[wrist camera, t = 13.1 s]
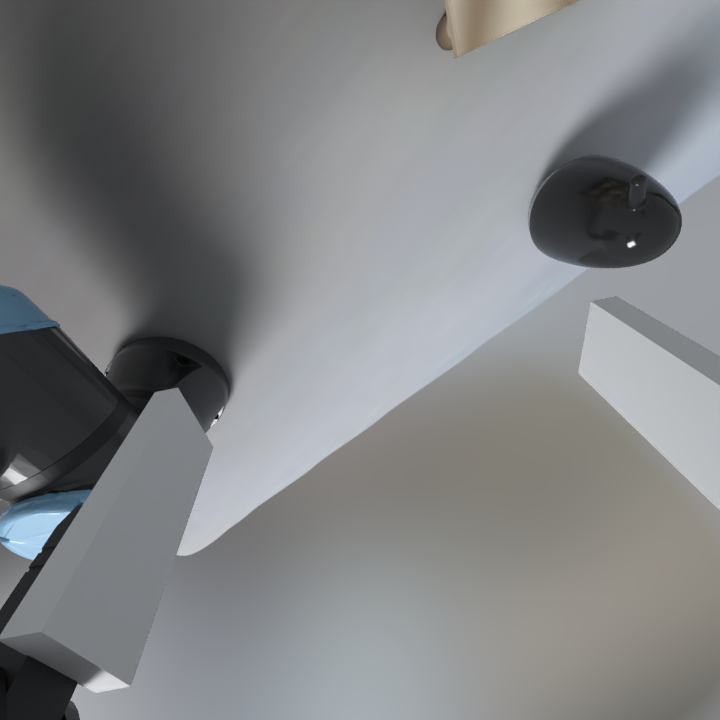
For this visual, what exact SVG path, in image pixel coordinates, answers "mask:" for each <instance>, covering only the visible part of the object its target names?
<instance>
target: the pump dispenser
mask: <svg viewBox="0 0 720 720" xmlns="http://www.w3.org/2000/svg"><path fill="white" fill-rule="evenodd" d="M528 225H529V230H530V234H531V238H532V240H533V242H534V244H535V246H536V247H537V248H538V249H539V250H540V251H541V252H542V253H544V254H545V255H547V256H549V257H551V258H553V259H555V260H558V261H561V262H565V263H569V264H573V265H577V266H583V267H590V268H623V267H631V266H635V265H639V264H643V263H646V262H649V261H651V260H653V259H656V258H658V257H659V256H661V255H662V254H664V253H665V252H666V251H667V250H668V249H669V248H670V247H671V246H672V245H673V244H674V243H675V241H676V239H677V238H678V236H679V234H680V231H681V227H682V217H681V212H680V209H679V207H678V204H677V202H676V201H675V199H674V198H673V196H672V195H671V194H670V192H669V191H668V190H667V189H666V188H665V187H664V186H663V185H661V184H660V183H659V182H658V181H657V180H655V179H654V178H653V177H651V176H650V175H648V174H647V173H646V172H644V171H642V170H641V169H639V168H637V167H635V166H633V165H631V164H629V163H626V162H624V161H621V160H618V159H615V158H612V157H608V156H600V155H591V156H585V157H581V158H578V159H575V160H573V161H571V162H569V163H567V164H566V165H564V166H563V167H561V168H559V169H558V170H556V171H555V172H553V173H552V174H551V175H550V176H548V177H547V178H546V179H545V180H544V181H543V183H542V184H541V185H540V186H539V188H538V189H537V191H536V192H535V194H534V196H533V198H532V200H531V203H530V207H529V212H528Z"/></svg>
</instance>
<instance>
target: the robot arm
mask: <svg viewBox="0 0 720 720" xmlns="http://www.w3.org/2000/svg"><path fill="white" fill-rule="evenodd" d="M59 326H60V324H59V323H58V322H56V321H53V320H51V319H50V318H49V317H48V316H47V315H46V314H44V313H43V312H42V311H41V310H40V309H39V308H38V307H37V306H36V305H35V304H34V303H33V302H32V301H31V300H30V299H29V298H28V297H27V296H26V295H24V294H23V293H22V292H20V291H18V290H16V289H14V288H11V287H7V286H2V285H0V499H2V500H3V501H5V502H6V503H7V504H9V505H10V508H7V509H6V510H5V511H4V512H3V513H2V515H1V517H0V541H1V543H2V544H3V545H4V546H5V547H6V548H8V549H9V550H11V551H12V552H14V553H16V554H18V555H20V556H23V557H25V558H28V559H31V560H34V561H33V562H32V564H31V565H30V566H29V571H28V572H26V573H25V574H24V576H23V577H22V578H21V580H20V582H19V583H18V584H17V586H16V587H15V589H14V590H13V592H12V593H11V595H10V596H9V598H8V599H7V601H6V602H5V604H4V605H3V607H2V608H1V610H0V720H80V718H79V713H78V710H77V708H76V706H75V704H74V703H73V702H72V701H70V699H71V697H72V695H73V692H74V690H75V688H76V686H77V683H78V684H80V685H81V686H84V687H85V688H87V689H89V690H91V691H93V692H95V693H97V692H102V691H108V690H113V689H119V688H125V687H130V686H131V684H132V681H133V678H134V676H135V672H136V670H137V667H138V664H139V661H140V658H141V655H142V652H143V649H144V646H145V644H146V641H147V638H148V635H149V632H150V629H151V626H152V623H153V620H154V617H155V614H156V612H157V609H158V606H159V603H160V600H161V597H162V594H163V591H164V588H165V586H166V582H167V580H168V577H169V574H170V571H171V568H172V565H173V562H174V560H175V557H176V554H177V551H178V548H179V545H180V542H181V539H182V536H183V534H184V531H185V528H186V525H187V522H188V519H189V516H190V513H191V510H192V508H193V505H194V502H195V499H196V496H197V493H198V490H199V487H200V484H201V481H202V479H203V476H204V473H205V470H206V467H207V464H208V461H209V458H210V455H211V452H212V450H213V446H212V444H211V442H210V441H209V439H208V437H207V436H206V434H205V433H206V432H207V431H208V430H209V428H210V427H212V426H213V425H214V424H215V423H216V422H217V421H218V420H219V418H220V417H221V415H222V413H223V411H224V409H225V406H226V403H227V400H228V397H229V385H228V381H227V378H226V375H225V373H224V372H223V370H222V368H221V367H220V366H219V364H218V363H217V362H216V361H215V360H214V359H213V358H212V357H211V356H210V355H208V354H207V353H206V352H204V351H203V350H201V349H199V348H198V347H196V346H194V345H191V344H189V343H186V342H184V341H180V340H177V339H172V338H163V337H153V338H145V339H141V340H137V341H135V342H132V343H130V344H128V345H127V346H125V347H124V348H123V349H122V350H121V351H120V352H119V353H118V354H117V355H116V356H115V357H114V358H113V359H112V360H111V362H110V363H109V365H108V366H107V368H106V371H105V373H104V375H103V374H102V373H101V372H100V370H99V369H98V368H97V367H96V366H95V365H94V364H93V363H92V362H91V361H90V360H89V359H88V358H87V356H86V355H85V354H84V353H83V352H82V351H81V350H80V349H79V348H78V347H77V346H76V345H75V344H74V342H73V341H72V340H71V339H70V338H69V337H68V336H67V335H66V334H65V333H64V332H63V331H62V330H61V328H60V327H59ZM578 374H580V375H581V376H582V377H583V378H584V379H585V380H586V381H587V382H588V383H589V384H590V385H591V386H592V387H593V388H594V389H595V390H596V391H597V392H598V393H599V394H600V395H601V396H602V397H603V398H604V399H605V400H606V401H607V402H608V403H610V404H611V405H612V406H613V407H614V408H615V409H616V410H617V411H618V412H619V413H620V414H621V415H622V416H623V417H624V418H625V419H626V420H627V421H628V422H629V423H630V424H631V425H632V426H633V427H634V428H635V429H636V430H637V431H638V432H640V434H642V435H643V436H644V437H645V438H646V439H647V440H648V441H649V442H650V443H651V444H652V445H653V446H654V447H655V448H656V449H657V450H658V451H659V452H660V453H661V454H662V455H663V456H664V457H666V459H667V460H668V461H669V462H670V463H672V465H673V466H675V467H676V468H677V469H678V470H679V471H680V472H681V473H682V474H683V475H684V476H685V477H686V478H687V479H688V480H689V481H690V482H691V483H692V484H693V485H694V486H695V487H696V488H697V489H698V490H699V491H700V492H701V493H702V494H703V495H704V496H706V497H707V498H708V499H709V500H710V501H711V502H712V503H713V504H714V505H715V506H716V507H717V508H718V509H719V510H720V356H718V355H717V354H715V353H713V352H712V351H710V350H708V349H706V348H704V347H703V346H701V345H699V344H698V343H696V342H694V341H693V340H691V339H689V338H687V337H686V336H684V335H682V334H680V333H679V332H677V331H675V330H674V329H672V328H670V327H668V326H667V325H665V324H663V323H661V322H660V321H658V320H656V319H655V318H653V317H651V316H649V315H648V314H646V313H644V312H643V311H641V310H639V309H637V308H636V307H634V306H632V305H630V304H629V303H627V302H625V301H623V300H622V299H620V298H618V297H616V296H615V297H610V298H605V299H601V300H596V301H591V304H590V310H589V316H588V321H587V327H586V333H585V338H584V344H583V351H582V356H581V361H580V367H579V373H578Z"/></svg>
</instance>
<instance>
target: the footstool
mask: <svg viewBox="0 0 720 720" xmlns="http://www.w3.org/2000/svg"><path fill="white" fill-rule="evenodd" d="M577 1H579V0H444V3H445V9H446V14H447V15H446V16H444V17H443V18H442V19H441V21H440V22H439V24H438V26H437V29H436V40H437V43H438V45H439V46H440V47H441V48H442V49H444V50H452V49H453V53H454V58H457V57H459V56H461V55H463V54H465V53H467V52H469V51H472V50H474V49H476V48H478V47H480V46H482V45H485V44H487V43H489V42H491V41H493V40H495V39H497V38H500V37H502V36H504V35H506V34H508V33H510V32H513V31H515V30H517V29H519V28H521V27H523V26H525V25H528V24H530V23H532V22H534V21H536V20H538V19H541V18H543V17H545V16H547V15H549V14H551V13H553V12H556V11H558V10H560V9H562V8H564V7H566V6H569V5H571V4H573V3H575V2H577Z"/></svg>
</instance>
